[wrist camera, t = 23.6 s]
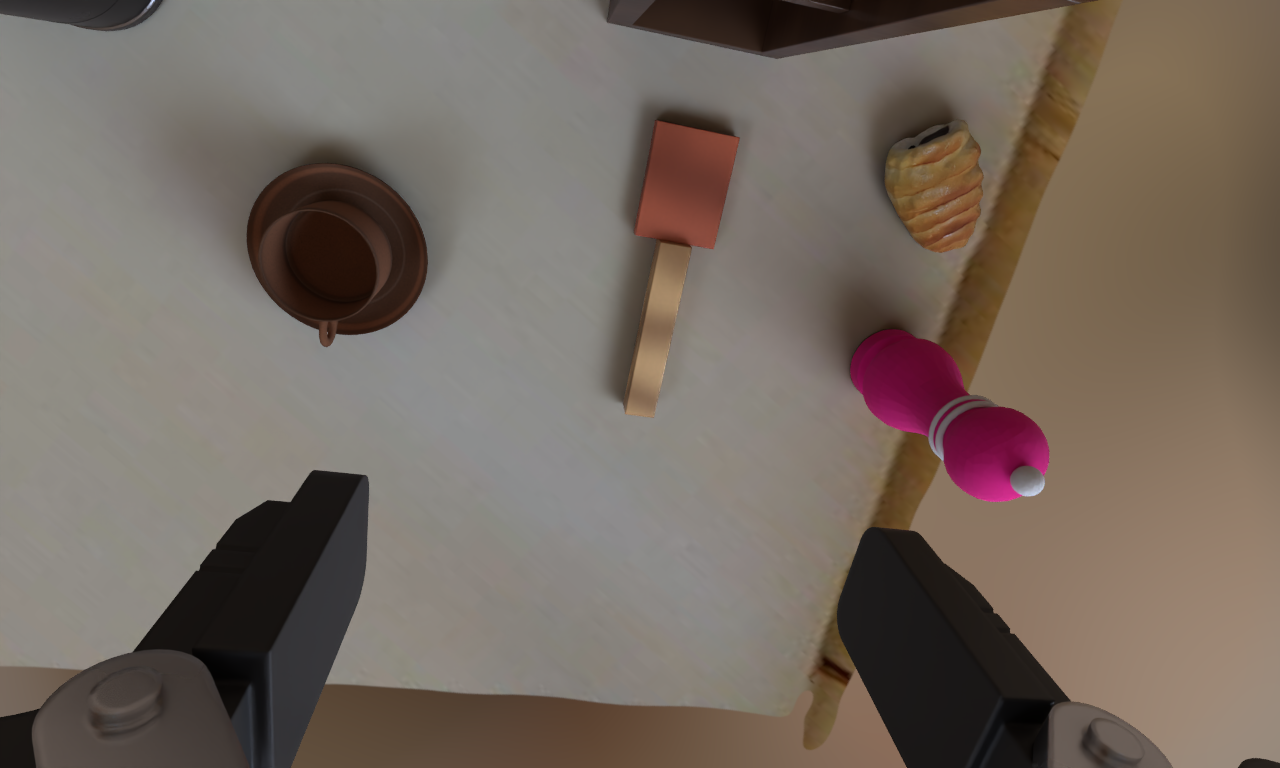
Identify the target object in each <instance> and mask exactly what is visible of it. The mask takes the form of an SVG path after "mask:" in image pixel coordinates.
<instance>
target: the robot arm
mask: <svg viewBox="0 0 1280 768" xmlns="http://www.w3.org/2000/svg"><path fill="white" fill-rule="evenodd" d="M161 2H162V0H0V14H4V15H11V16H18V17H25V18H32V19H38V20H45V21H50V22H57V23H64V24H71V25H74V26H77V27H81V28H86V29H92V30H100V31H117V30H123V29H128V28H131V27H133V26H136V25H138V24H140V23H142V22H143V21H145V20H146V19H147V18H149V17H150V16H151V15H152V14H153V13H154V12H155V11H156V9H157V8H158V7H159V5H160V4H161ZM368 503H369V481H368V477H367V476H366V475H359V474H349V473H339V472H329V471H319V470H314V471H312V472H311V473H310V474H309V476H308V477H307V478H306V480H305V481H304V483H303V484H302V486H301V487H300V489H299V490H298V492H297V493H296V495H295V496H294V498H293V499H292V501H291V502H282V501H271V500H267V501H266V502H264V503H262V504H261V505H259V506H257V507H256V508H254V509H252V510H251V511H249V512H248V513H246V514H244V515H243V516H241V517H239V518H238V519H236V520H235V521H234V523H233V524H232V525H231V526H230V528H229V529H228V530H227V532H226V533H225V534H224V535H223V537H222V538H221V539H220V541H219V542H218V543H217V546H216V549H213V550H212V551H211V552H210V553H209V555H208V556H207V557H206V559H205V560H204V561H203V562H202V564H201V565H200V570H199V571H195V573H194V574H193V575H192V577H191V578H190V579H189V580H188V582H187V583H186V584H185V586H184V587H183V588H182V589H181V591H180V592H179V593H178V595H177V596H176V597H175V598H174V600H173V601H172V602H171V604H170V605H169V606H168V607H167V609H166V610H165V611H164V613H163V614H162V615H161V616H160V618H159V619H158V620H157V622H156V623H155V624H154V625H153V627H152V628H151V629H150V631H149V632H148V633H147V634H146V636H145V637H144V638H143V640H142V641H141V642H140V643H139V645H138V646H137V647H136V649H135V650H134V651H133V652H132V653H127V654H124V655H120V656H117V657H113V658H111V659H108V660H105V661H103V662H100V663H98V664H96V665H94V666H92V667H90V668H88V669H85V670H84V671H82V672H81V673H79V674H77V675H75V676H74V677H72V678H71V679H69V680H68V681H67V682H65V683H64V684H63V685H62V686H60V687H59V688H58V689H57V690H56V691H55V692H54V693H53V694H52V695H51V696H50V697H49V698H48V699H47V700H46V702H45V703H44V704H43V705H42V707H41V708H40V709H37V710H34V711H29V712H25V713H20V714H16V715H11V716H5V717H0V768H291V765H292V763H293V760H294V758H295V756H296V753H297V751H298V748H299V746H300V743H301V740H302V738H303V736H304V734H305V731H306V729H307V726H308V724H309V721H310V719H311V716H312V714H313V711H314V709H315V706H316V704H317V702H318V699H319V697H320V694H321V692H322V689H323V687H324V685H325V682H326V680H327V677H328V675H329V672H330V670H331V667H332V665H333V663H334V660H335V658H336V655H337V653H338V650H339V648H340V645H341V643H342V640H343V638H344V636H345V633H346V631H347V628H348V626H349V623H350V621H351V618H352V616H353V614H354V611H355V609H356V606H357V604H358V601H359V598H360V594H361V590H362V586H363V581H364V576H365V569H366V556H367V530H368ZM837 623H838V629H839V634H840V637H841V639H842V642H843V643H844V645H845V647H846V649H847V651H848V653H849V655H850V657H851V659H852V661H853V663H854V665H855V667H856V669H857V671H858V673H859V675H860V677H861V679H862V681H863V683H864V685H865V687H866V688H867V690H868V692H869V694H870V696H871V698H872V700H873V702H874V704H875V706H876V708H877V710H878V712H879V714H880V716H881V718H882V720H883V722H884V724H885V726H886V727H887V729H888V732H889V733H890V735H891V737H892V739H893V741H894V743H895V745H896V747H897V749H898V751H899V753H900V755H901V757H902V759H903V761H904V763H905V765H906V767H907V768H1173V767H1172V765H1171V764H1170V762H1169V761H1168V759H1167V758H1166V757H1165V755H1164V754H1163V753H1162V752H1161V751H1160V750H1159V749H1158V747H1157V746H1156V745H1155V744H1154V743H1152V742H1151V741H1150V740H1149V739H1148V738H1147V737H1146V736H1145V735H1143V734H1142V733H1141V732H1140V731H1138V730H1137V729H1136V728H1134V727H1133V726H1131V725H1130V724H1128V723H1127V722H1125V721H1124V720H1122V719H1120V718H1119V717H1117V716H1115V715H1113V714H1111V713H1109V712H1107V711H1105V710H1102V709H1100V708H1097V707H1095V706H1092V705H1089V704H1084V703H1080V702H1071V701H1070V700H1069V698H1068V697H1067V696H1066V695H1065V694H1064V692H1063V691H1062V690H1061V689H1060V688H1059V686H1058V685H1057V684H1056V683H1055V682H1054V681H1053V679H1052V678H1051V677H1050V676H1049V674H1048V673H1047V672H1046V671H1045V670H1044V669H1043V668H1042V666H1041V665H1040V664H1039V663H1038V661H1037V660H1036V659H1035V658H1034V657H1033V656H1032V654H1031V653H1030V652H1029V651H1028V650H1027V648H1026V647H1025V646H1024V645H1023V643H1022V642H1021V641H1020V640H1019V639H1018V638H1017V636H1016V635H1015V634H1011V633H1010V628H1009V627H1008V626H1007V624H1006V623H1005V622H1004V621H1003V620H1002V618H1001V617H1000V616H999V615H998V614H995V613H993V608H992V607H991V605H990V604H989V603H988V602H987V601H986V599H985V598H984V597H983V596H982V595H981V593H980V592H979V591H978V590H977V589H976V588H975V586H974V585H973V584H971V583H970V582H969V581H967V580H966V579H965V578H963V577H962V576H961V575H959V574H958V573H957V572H955V571H954V570H953V569H951V568H950V567H949V566H947V565H946V564H944V563H943V562H942V561H941V559H940V558H939V557H938V556H937V555H936V553H935V552H934V551H933V549H932V548H931V547H930V546H929V545H928V544H927V542H926V541H925V540H924V538H923V537H922V536H921V535H920V534H919V533H917V532H915V531H909V530H899V529H889V528H879V527H871V528H869V529H867V530H866V531H865V532H864V534H863V536H862V538H861V540H860V543H859V546H858V548H857V551H856V554H855V557H854V560H853V562H852V565H851V568H850V571H849V574H848V577H847V579H846V582H845V585H844V588H843V591H842V593H841V596H840V599H839V603H838V609H837ZM1238 768H1280V763H1277V762H1274V761H1270V760H1266V759H1260V758H1259V759H1258V758H1252V759H1247V760H1245V761H1243V762H1242V763H1241V764H1240V766H1239V767H1238Z"/></svg>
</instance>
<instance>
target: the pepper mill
mask: <svg viewBox="0 0 1280 768" xmlns="http://www.w3.org/2000/svg"><path fill="white" fill-rule="evenodd" d="M850 373H851V379H852V381H853V384H854V385H855V387H856V388H857V389H858V390H859V391H860V392H861V393H862V394H863V396H864V399H865V402H866V404H867V406H868V408H869V409H870V411H871V412H872V413H873V414H874V415H875V416H876V417H877V418H879V419H880V420H881V421H883V422H884V423H886V424H887V425H889V426H891V427H894V428H897V429H899V430H902V431H907V432H914V433H920V434H923V435H926V436H927V437H929V443H930V446H931V448H932V450H933V451H934V453H935V454H936V455H937V456H938V457H940V458H941V460H942V461H943V462H944V464H945V467H946V470H947V473H948V474H949V476H950V477H951V479H952V480H953V482H954V483H955V484H956V485H957V486H959V487H960V488H961V489H962V490H963V491H965V492H966V493H968V494H969V495H972V496H973V497H976V498H978V499H981V500H986V501H991V502H998V501H999V502H1000V501H1009V500H1012V499H1016V498H1018V497H1020V496H1022V495H1024V496H1034V495H1037V494H1038V493H1040V492H1041V491H1042V489H1043V487H1044V485H1045V479H1044V474H1045V472H1046V470H1047V467H1048V463H1049V447H1048V443H1047V440H1046V438H1045V436H1044V434H1043V432H1042V430H1041V429H1040V428H1039V427H1038V425H1037V424H1036V423H1035V422H1034V421H1032V420H1031V419H1030V418H1029V417H1027V416H1026V415H1024V414H1023V413H1021V412H1019V411H1016V410H1014V409H1011V408H1005V407H999V406H998V405H996V404H994V403H993V402H992V401H991V400H989V399H987V398H986V397H983V396H978V395H969V394H968V393H967V392H966V391H965V390H964V386H963V381H962V377H961V373H960V371H959V369H958V367H957V365H956V363H955V361H954V360H953V358H952V357H951V356H950V355H949V354H948V353H947V352H946V351H945V350H944V349H943V348H941V347H940V346H939V345H937V344H936V343H933V342H931V341H928V340H925V339H918V338H915V337H914V336H913V335H911V334H909V333H908V332H906V331H902V330H898V329H888V330H883V331H880V332H877V333H875V334H873V335H871V336H870V337H869V338H867V339H866V340H865V341H864V342H863V343H862V344H861V345H860V346H859V347H858V348H857V350H856V352H855V354H854V356H853V358H852V362H851V367H850Z"/></svg>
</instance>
